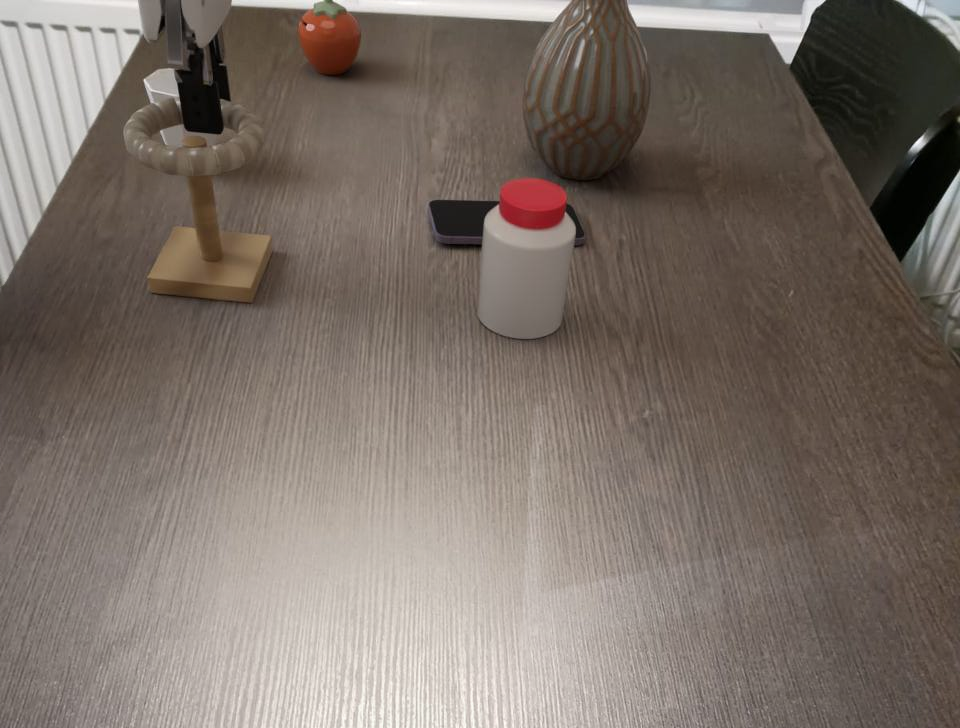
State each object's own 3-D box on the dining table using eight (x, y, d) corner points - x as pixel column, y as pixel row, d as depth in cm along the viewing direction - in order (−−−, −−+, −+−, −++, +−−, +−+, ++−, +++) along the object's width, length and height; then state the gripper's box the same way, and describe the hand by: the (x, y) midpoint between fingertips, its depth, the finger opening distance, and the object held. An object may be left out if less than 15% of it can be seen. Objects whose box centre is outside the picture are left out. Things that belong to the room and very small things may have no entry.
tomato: (300, 55, 119) (295, -20, 113) (361, 57, 120) (359, -17, 114) (299, 80, 115) (294, 3, 108) (362, 82, 116) (361, 6, 109)
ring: (108, 172, 76) (102, 146, 74) (149, 111, 83) (144, 86, 81) (248, 187, 76) (245, 161, 74) (277, 124, 83) (275, 100, 81)
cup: (153, 179, 97) (137, 94, 91) (166, 135, 104) (152, 52, 97) (225, 182, 98) (213, 97, 92) (233, 137, 104) (223, 55, 98)
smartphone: (588, 239, 95) (436, 237, 92) (586, 250, 95) (436, 248, 93) (571, 202, 99) (426, 198, 96) (569, 212, 100) (426, 209, 97)
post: (150, 293, 85) (121, 160, 76) (177, 240, 90) (153, 111, 82) (252, 303, 85) (236, 172, 76) (273, 250, 91) (260, 122, 82)
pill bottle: (498, 346, 83) (510, 223, 75) (463, 298, 88) (471, 177, 79) (577, 330, 86) (597, 210, 77) (539, 285, 90) (555, 166, 82)
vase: (607, 135, 111) (637, -44, 98) (655, 190, 104) (694, 4, 90) (500, 143, 108) (516, -41, 94) (541, 200, 100) (564, 9, 87)
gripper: (148, -183, 73) (189, 80, 87) (78, -124, 63) (137, 162, 77) (248, -172, 73) (272, 89, 87) (194, -113, 63) (231, 172, 77)
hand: (208, 121), depth 82 cm, fingers closed on ring, 2 cm apart
